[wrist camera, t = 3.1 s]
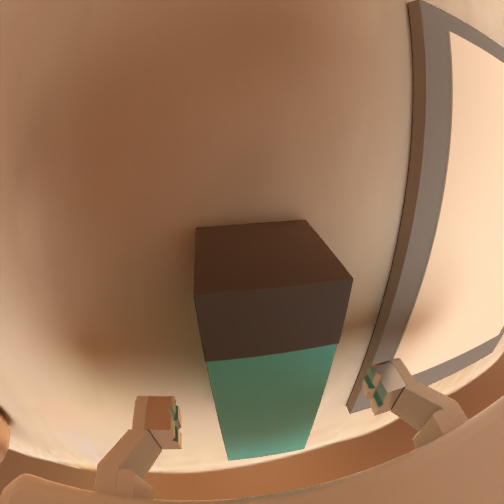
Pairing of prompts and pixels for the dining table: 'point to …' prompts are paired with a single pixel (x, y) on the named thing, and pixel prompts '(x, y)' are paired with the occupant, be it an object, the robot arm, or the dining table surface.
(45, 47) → the dining table surface
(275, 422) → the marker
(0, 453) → the plastic bottle
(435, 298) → the writing board
